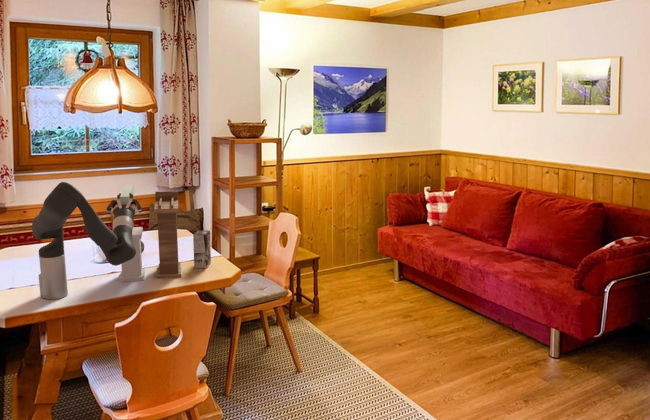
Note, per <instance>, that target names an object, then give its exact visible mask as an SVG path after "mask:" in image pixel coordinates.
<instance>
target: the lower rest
mask: <svg viewBox="0 0 650 420" xmlns="http://www.w3.org/2000/svg"><path fill="white" fill-rule="evenodd" d="M143 232H144V229H143V226H136V227H134V226H133V231H132V240H133V244H134V246H135V249H136V255H135V257H134V258H133V259H131V260H129V261H127V262H124V263H122V264H120V265H121V271H120V275H119V278H118V279H119V281H118V282H119V283H124V282H140V281H141V282H142V281H144V279H145V275H146V272H145V270H146V269H145V268H143V257H142V254H141V241H142V238H143V237H142V236H143Z"/></svg>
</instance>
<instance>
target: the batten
mask: <svg viewBox="0 0 650 420" xmlns="http://www.w3.org/2000/svg"><path fill="white" fill-rule="evenodd" d="M129 193H131V194H133V195H134V194H135V190H134V185H125V186H124V188H123V190H122V192H121V195H120V202H121V204H123V205H125V204H127V203H128V202H129Z"/></svg>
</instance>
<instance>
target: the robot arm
mask: <svg viewBox="0 0 650 420" xmlns="http://www.w3.org/2000/svg"><path fill="white" fill-rule="evenodd" d="M121 193H122V192H121ZM121 193H118V194H117V195H116V196H117V197H116V200H115V199H112V200H111V201H110V203H109V204H108V206H107V207H106V213H107V214H108V215H110V214H112V215H113V221H112V230H111V229H110V228H109V227H108V225H106V223H105V222H104V221H103V220H102V219H101V218H100V216H99V215H98V214H97V212H96V211H95V209H94V208H93V207H92V205H91V204H90V202H89V201H88V200H87V198H86V197H85V196H84V195H83V193H82V192H81V191H80V190H79V189H78V188H77V187H75V186H74V185H73V184H71V183H69V182H65V181H61V182H59V183H57V185H56V186H55V187H54V188H53V189H52V191H51V192H50V193H49V194H48V195H47V197H45V199H44V201H43V204H42V208H41V209H40V211H39V213H38V215H36V216H35V217H34V218H33V220H32V222H31V223H32V224H31V231H32V234H33V236H34V237H35V238H36V239H37V240H49V239H52V241H50V242H49V243H47V244H45V245H43V246H41V247H40V248H39V249H38V259H39V269H40V270H39V271H40V273H39V274H38V284H39V285H38V286H39V294H40V296H39V297H40V298H41V299H42V298H43V299H45V300H59V299H63V298H65V297H67V296H68V295H69V293H68V292H69V291H68V290H69V289H68V280H67V279H68V278H67V267H66V255H65V254H66V253H65V242H64V225H65V223H67V221H68V218H69V217H70V216H71V215H72V214H73V212H74V211H75V210H76V209H77V208H78V210H79V212H80V214H81V216H82V221H83V223H84V228H85V232H86V234H87V236H88V237H89V239H90V240H91V241H93V243H94V244H95V245H97V246H98V248H100V250H101V252H102V253H103V255H104V256H105V258H106V260H107V262H108V263H109V264H110V265H112V266H115V267H116V266H120V265H121V264H122V263H124V262H127V261H129V260H131V259H133V258H134V257H135V255H136V249H135V246H134V244H133V240H132V231H133V227H134V225H135V224H134V221H135V220H134V219H135V215H136V213H142V211H143V210H142V206H141V204H140V203H139V200H138V199H137V198H136V199H134V194H131V193H129V202H128V203H127V204H125V205H123V204H121V202H120V195H121ZM133 205H134V207H135V208H134V207H133ZM115 245H116V246H115Z"/></svg>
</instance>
